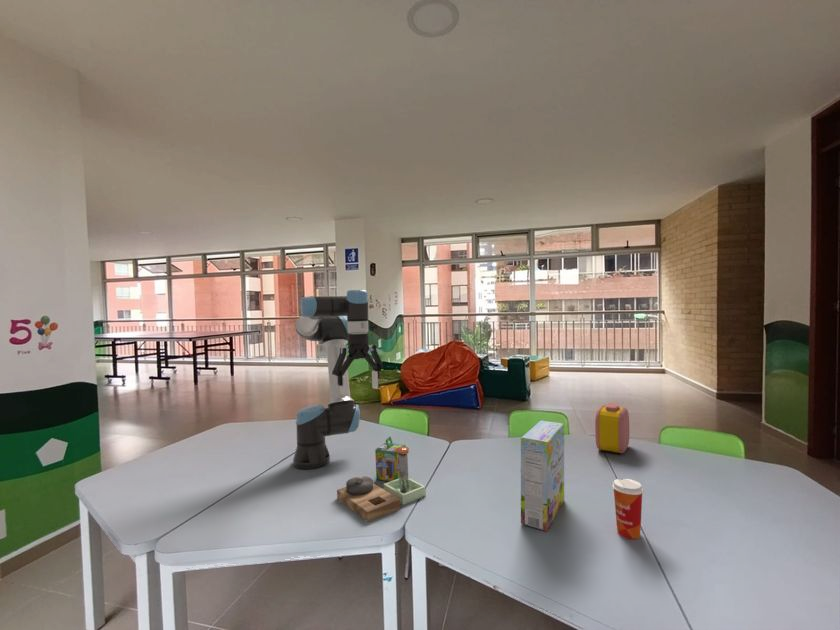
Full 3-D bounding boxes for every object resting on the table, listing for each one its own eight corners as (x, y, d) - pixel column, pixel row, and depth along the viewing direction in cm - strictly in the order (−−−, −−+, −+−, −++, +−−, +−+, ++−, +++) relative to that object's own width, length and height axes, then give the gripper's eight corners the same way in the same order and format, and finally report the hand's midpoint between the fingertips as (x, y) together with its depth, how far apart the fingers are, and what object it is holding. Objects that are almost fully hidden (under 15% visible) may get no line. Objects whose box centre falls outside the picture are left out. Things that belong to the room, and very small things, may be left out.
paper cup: (607, 527, 113) (606, 478, 112) (633, 525, 113) (632, 476, 113) (624, 543, 105) (622, 490, 105) (651, 540, 105) (650, 488, 105)
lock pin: (395, 492, 137) (393, 448, 137) (405, 488, 139) (403, 445, 139) (403, 496, 133) (401, 451, 133) (413, 492, 136) (411, 448, 136)
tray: (383, 492, 138) (383, 483, 138) (405, 484, 144) (405, 476, 144) (403, 504, 129) (403, 495, 129) (425, 495, 135) (425, 486, 135)
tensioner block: (337, 498, 134) (336, 478, 134) (367, 487, 142) (366, 468, 142) (368, 521, 119) (367, 498, 119) (400, 508, 126) (399, 486, 126)
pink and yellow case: (603, 441, 184) (603, 399, 184) (630, 445, 178) (629, 402, 178) (595, 453, 169) (594, 408, 169) (623, 458, 163) (622, 411, 163)
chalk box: (397, 483, 145) (396, 443, 145) (375, 480, 148) (374, 441, 148) (407, 473, 154) (406, 435, 154) (386, 470, 157) (385, 433, 157)
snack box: (550, 533, 110) (548, 442, 110) (519, 525, 115) (517, 437, 115) (566, 500, 129) (565, 422, 128) (540, 494, 133) (538, 419, 133)
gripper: (331, 335, 131) (333, 399, 131) (392, 331, 147) (393, 387, 148) (321, 334, 136) (322, 395, 137) (380, 330, 153) (381, 384, 153)
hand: (359, 391), depth 142 cm, fingers open, 13 cm apart
